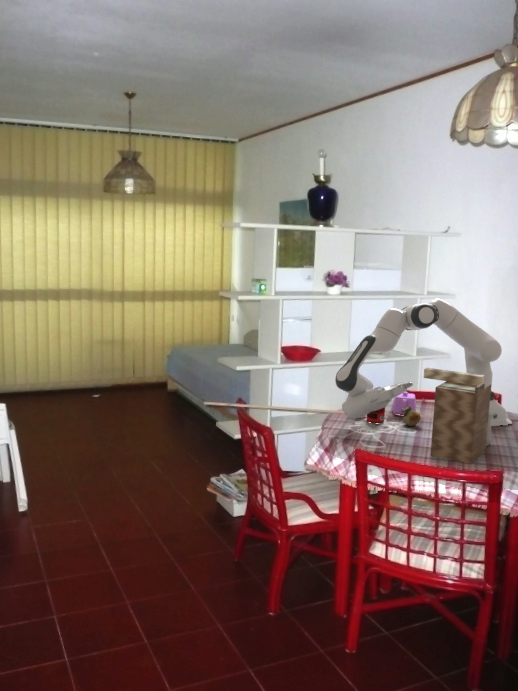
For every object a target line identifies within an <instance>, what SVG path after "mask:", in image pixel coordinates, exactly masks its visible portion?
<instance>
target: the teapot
mask: <svg viewBox="0 0 518 691" xmlns="http://www.w3.org/2000/svg"><path fill="white" fill-rule="evenodd" d="M416 399H417V398H416V395H415V394H414V393H409V392H408V391H405V392H403V393H402V394H400V395H398V396H396V397H395V398H393V403H392V414H400V415H404V414H405V413H406V412H403V411H402V410H401V409H402V408H403V409H406V408H407V407H411V409H412V410H414V411H416V412H417V401H416Z"/></svg>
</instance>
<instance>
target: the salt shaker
mask: <svg viewBox="0 0 518 691" xmlns="http://www.w3.org/2000/svg"><path fill="white" fill-rule="evenodd" d="M490 419H492V413H490V412H489V416H488V427H487V438H486V447H487V446H490V445H491V443H492V441H493V436H492V426H491V423H490Z"/></svg>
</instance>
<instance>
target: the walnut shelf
mask: <svg viewBox="0 0 518 691" xmlns="http://www.w3.org/2000/svg"><path fill="white" fill-rule="evenodd" d="M491 391H492V387H491V384H489V383H481V384H480V385H478V386H477V385H470V384H463V383H456V382H449V381H443V383H440V384H439V385H437V386H436V387H435V392H434V403H433V404H434V405H433V414H432V415H433V417H432V418H433V419H432V430H431V443H430V457H434V458H440V459H445V460H450V461H455V462H460V463H463V464H464V463H465V464H469V465H473V463H474V462H475V461H476V460H477V459H479V457H480V456H481V455H482V454H483V453H484V452H486V448H487V446H486V438H487V427H488V416H489V405H490V394H491Z"/></svg>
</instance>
